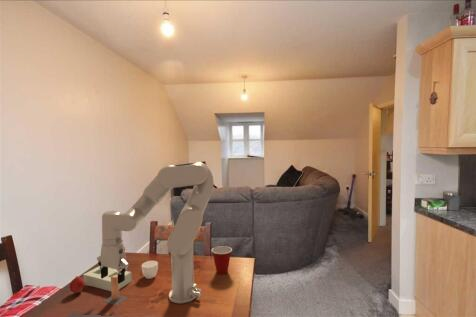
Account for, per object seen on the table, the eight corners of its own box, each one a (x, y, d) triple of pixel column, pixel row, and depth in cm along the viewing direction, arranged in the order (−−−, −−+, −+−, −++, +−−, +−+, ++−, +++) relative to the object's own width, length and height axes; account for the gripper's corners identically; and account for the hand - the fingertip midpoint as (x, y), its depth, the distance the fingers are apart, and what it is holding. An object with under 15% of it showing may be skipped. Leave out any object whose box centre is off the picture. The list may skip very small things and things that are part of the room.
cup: (139, 281, 125) (139, 267, 125) (147, 270, 135) (146, 258, 135) (155, 281, 125) (154, 267, 125) (161, 270, 135) (161, 258, 135)
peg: (121, 297, 111) (120, 275, 111) (115, 301, 108) (114, 279, 108) (116, 296, 112) (115, 274, 112) (110, 300, 110) (109, 277, 109)
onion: (68, 298, 112) (67, 280, 112) (72, 290, 118) (71, 274, 117) (83, 295, 114) (82, 278, 113) (86, 288, 119) (85, 272, 119)
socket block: (131, 281, 125) (131, 271, 124) (114, 293, 115) (114, 282, 115) (102, 274, 132) (101, 264, 132) (83, 284, 123) (83, 274, 123)
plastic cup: (234, 266, 138) (233, 245, 137) (230, 277, 127) (230, 254, 127) (214, 265, 140) (214, 244, 139) (209, 275, 129) (208, 252, 128)
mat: (128, 298, 112) (128, 297, 112) (117, 306, 106) (116, 305, 106) (114, 294, 115) (114, 293, 115) (103, 301, 109) (103, 301, 109)
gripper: (134, 240, 109) (134, 279, 110) (105, 234, 115) (105, 271, 116) (120, 247, 102) (120, 288, 103) (89, 240, 108) (90, 279, 110)
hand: (112, 279), depth 110 cm, fingers open, 9 cm apart
